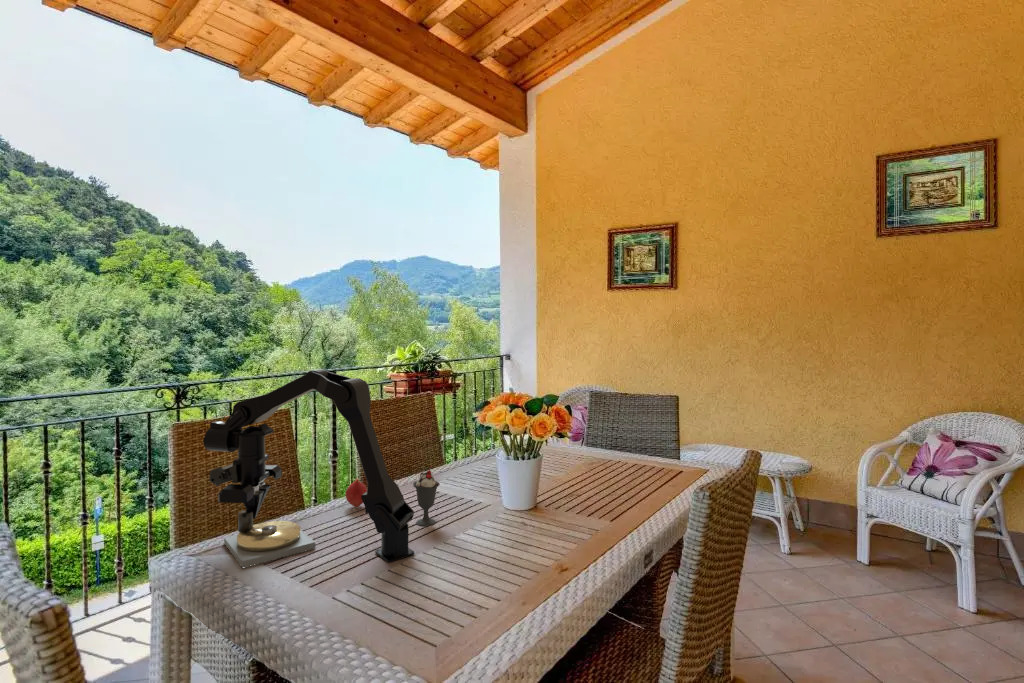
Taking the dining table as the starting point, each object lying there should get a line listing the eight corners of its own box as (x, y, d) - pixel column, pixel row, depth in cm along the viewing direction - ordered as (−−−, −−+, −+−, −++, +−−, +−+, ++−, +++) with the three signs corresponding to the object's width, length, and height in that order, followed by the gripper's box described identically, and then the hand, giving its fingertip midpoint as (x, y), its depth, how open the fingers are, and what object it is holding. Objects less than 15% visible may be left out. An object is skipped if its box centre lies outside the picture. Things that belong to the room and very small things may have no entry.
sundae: (434, 528, 132) (434, 469, 131) (408, 526, 133) (409, 467, 132) (442, 519, 138) (443, 462, 138) (418, 516, 140) (419, 460, 139)
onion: (340, 508, 144) (341, 479, 144) (356, 502, 149) (356, 474, 149) (356, 512, 142) (357, 483, 141) (372, 506, 147) (372, 477, 146)
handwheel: (293, 523, 129) (293, 500, 129) (306, 542, 118) (306, 518, 118) (233, 534, 122) (233, 511, 121) (241, 556, 111) (241, 530, 111)
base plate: (315, 548, 119) (315, 542, 119) (242, 568, 110) (242, 561, 109) (291, 527, 131) (291, 521, 131) (224, 544, 121) (224, 537, 121)
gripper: (237, 442, 132) (238, 503, 133) (192, 464, 114) (194, 535, 115) (282, 442, 132) (283, 504, 133) (244, 465, 114) (246, 536, 115)
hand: (252, 518), depth 124 cm, fingers closed
